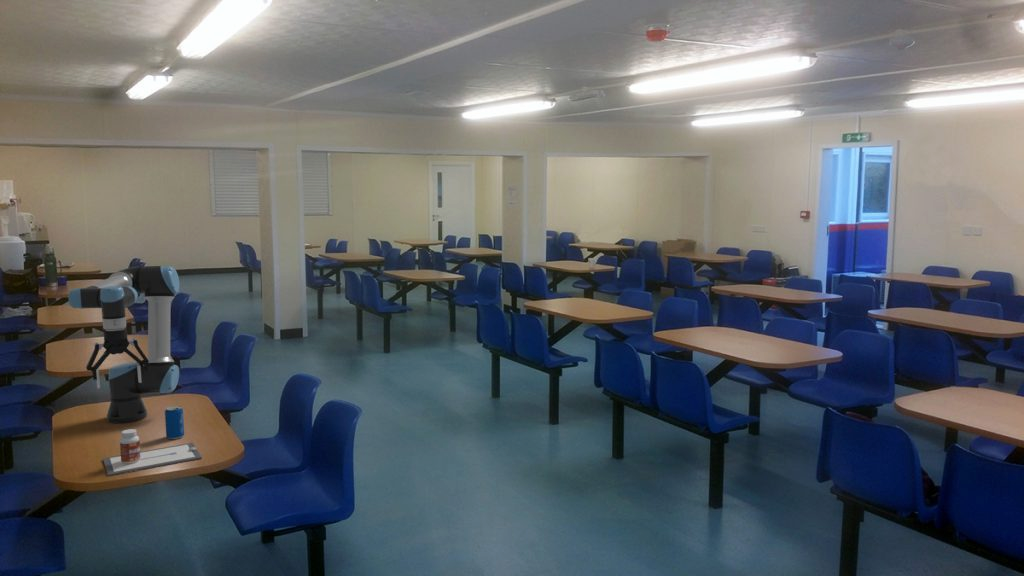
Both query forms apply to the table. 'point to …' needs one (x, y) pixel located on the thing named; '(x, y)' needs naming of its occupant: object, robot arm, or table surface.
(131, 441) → the pill bottle
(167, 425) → the beverage can
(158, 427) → the table surface
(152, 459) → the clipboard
